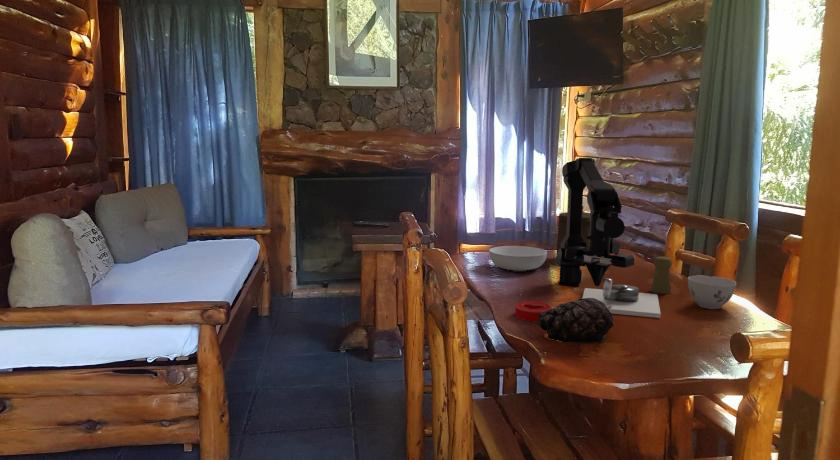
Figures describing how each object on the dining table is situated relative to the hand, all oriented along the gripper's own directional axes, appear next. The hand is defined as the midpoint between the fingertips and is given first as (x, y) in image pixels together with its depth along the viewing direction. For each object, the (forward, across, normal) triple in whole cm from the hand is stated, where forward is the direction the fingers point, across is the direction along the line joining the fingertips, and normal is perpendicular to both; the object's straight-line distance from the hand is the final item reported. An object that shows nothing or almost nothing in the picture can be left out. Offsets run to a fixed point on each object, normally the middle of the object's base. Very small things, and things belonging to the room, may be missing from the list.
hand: (597, 285), depth 172 cm
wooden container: (+6, +38, -51) cm, 63 cm away
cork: (+6, -6, -30) cm, 31 cm away
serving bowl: (+6, +44, -22) cm, 50 cm away
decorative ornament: (+6, +7, +21) cm, 23 cm away
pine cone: (+6, -11, +29) cm, 31 cm away
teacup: (+6, -22, -25) cm, 33 cm away
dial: (+4, -4, -6) cm, 8 cm away
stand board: (+6, -4, -7) cm, 10 cm away
